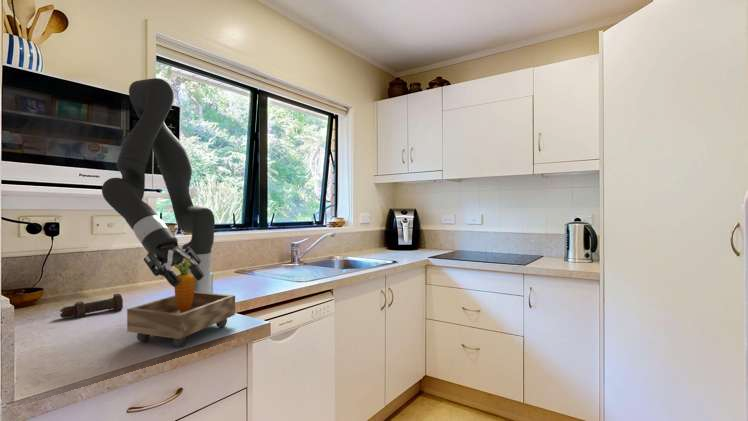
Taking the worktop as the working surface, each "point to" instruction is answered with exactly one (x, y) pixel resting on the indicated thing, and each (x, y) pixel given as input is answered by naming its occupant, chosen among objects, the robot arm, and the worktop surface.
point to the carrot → (184, 288)
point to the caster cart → (179, 316)
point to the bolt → (92, 307)
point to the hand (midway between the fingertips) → (189, 281)
